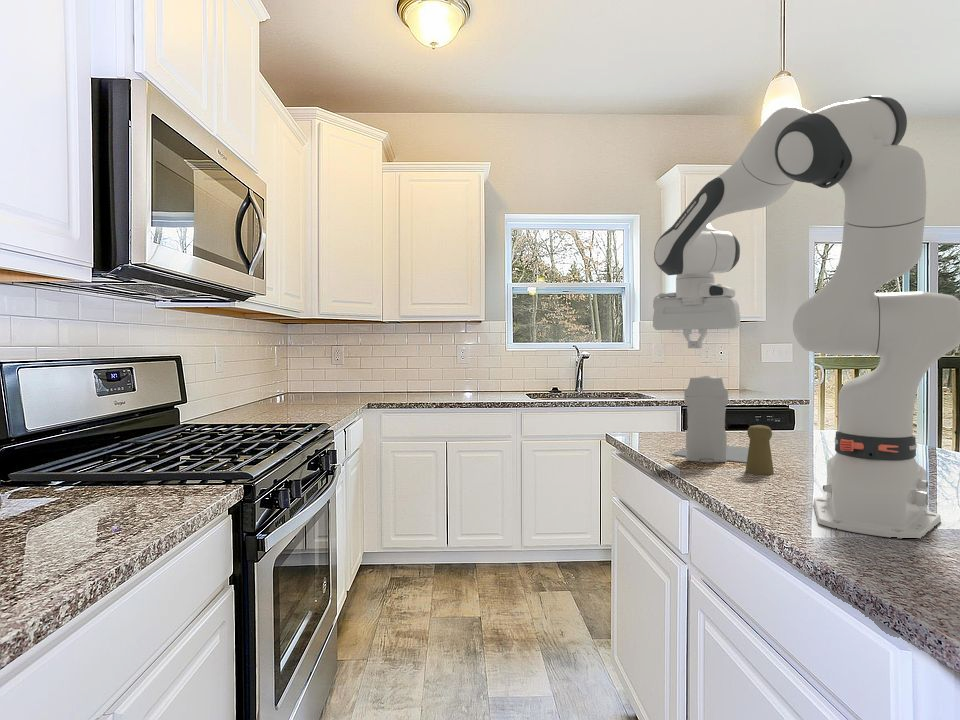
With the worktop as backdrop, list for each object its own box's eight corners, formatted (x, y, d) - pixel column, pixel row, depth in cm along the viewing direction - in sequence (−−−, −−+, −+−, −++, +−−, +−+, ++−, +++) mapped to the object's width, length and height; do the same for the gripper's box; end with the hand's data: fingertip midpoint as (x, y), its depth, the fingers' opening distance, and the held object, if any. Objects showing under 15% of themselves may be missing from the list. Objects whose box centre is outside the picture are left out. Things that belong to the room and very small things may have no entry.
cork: (742, 469, 143) (742, 423, 143) (768, 469, 142) (768, 423, 142) (749, 474, 137) (750, 427, 137) (777, 475, 136) (778, 427, 136)
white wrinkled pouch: (684, 462, 152) (684, 376, 152) (683, 458, 156) (683, 375, 156) (729, 463, 150) (729, 376, 149) (727, 460, 154) (727, 375, 153)
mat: (750, 463, 149) (750, 462, 149) (671, 455, 162) (671, 454, 162) (769, 450, 167) (769, 449, 167) (697, 443, 179) (697, 442, 179)
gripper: (648, 293, 148) (648, 348, 149) (735, 287, 136) (735, 348, 137) (657, 294, 154) (657, 348, 154) (742, 289, 141) (742, 348, 142)
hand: (694, 348), depth 145 cm, fingers closed
